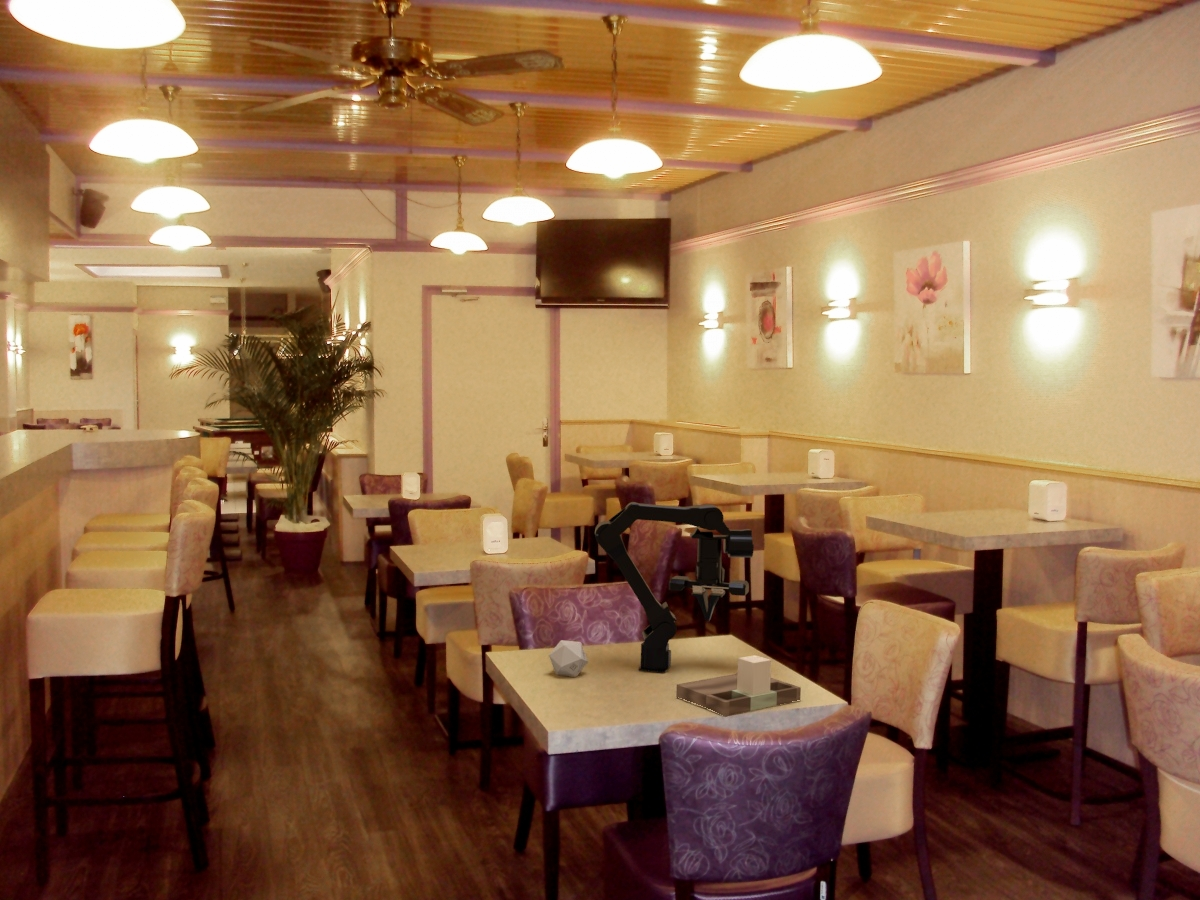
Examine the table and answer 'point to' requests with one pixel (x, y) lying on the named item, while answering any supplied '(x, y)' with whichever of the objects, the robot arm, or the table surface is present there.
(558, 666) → the die
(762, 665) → the block
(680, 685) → the brown compartment tray
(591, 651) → the table surface
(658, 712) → the table surface
